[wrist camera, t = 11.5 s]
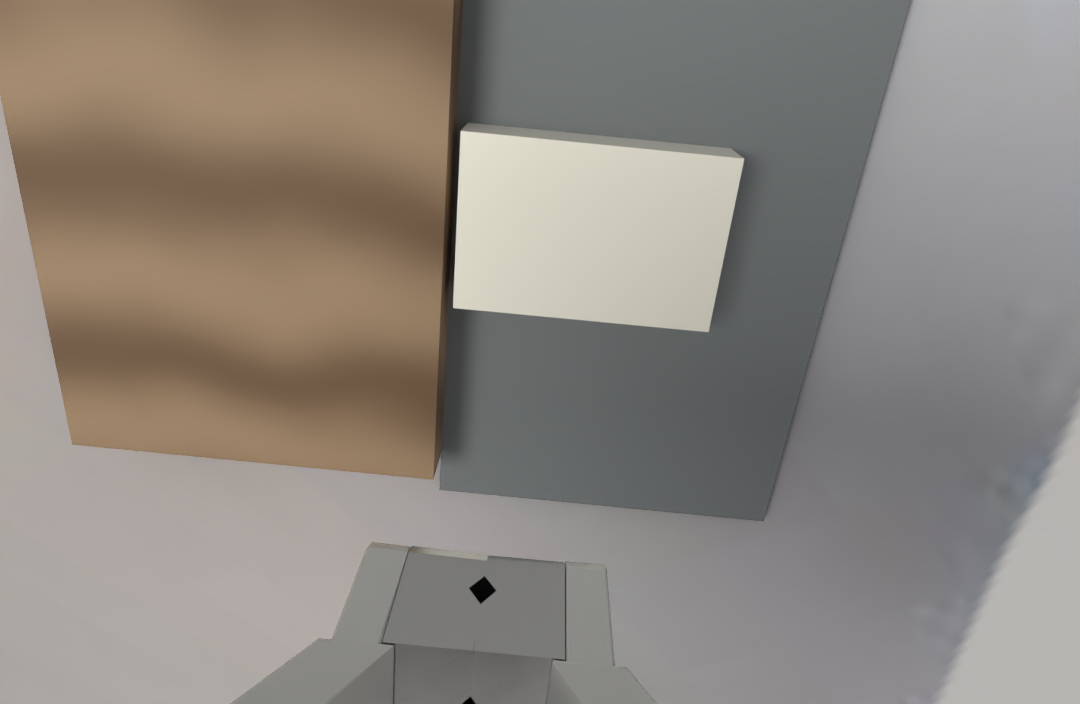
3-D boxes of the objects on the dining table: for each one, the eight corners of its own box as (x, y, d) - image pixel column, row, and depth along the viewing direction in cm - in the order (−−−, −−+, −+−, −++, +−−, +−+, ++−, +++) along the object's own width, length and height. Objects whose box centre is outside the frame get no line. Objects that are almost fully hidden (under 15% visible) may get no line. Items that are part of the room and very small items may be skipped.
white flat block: (698, 311, 27) (708, 332, 25) (460, 288, 27) (453, 308, 25) (730, 148, 25) (744, 158, 23) (468, 122, 24) (460, 131, 23)
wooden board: (442, 444, 30) (433, 479, 28) (109, 412, 30) (72, 444, 28) (469, -112, 22) (459, -126, 20) (7, -163, 22) (-57, -184, 20)
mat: (760, 515, 31) (763, 521, 31) (440, 484, 31) (439, 489, 31) (943, -138, 21) (950, -141, 21) (473, -191, 21) (472, -195, 21)
